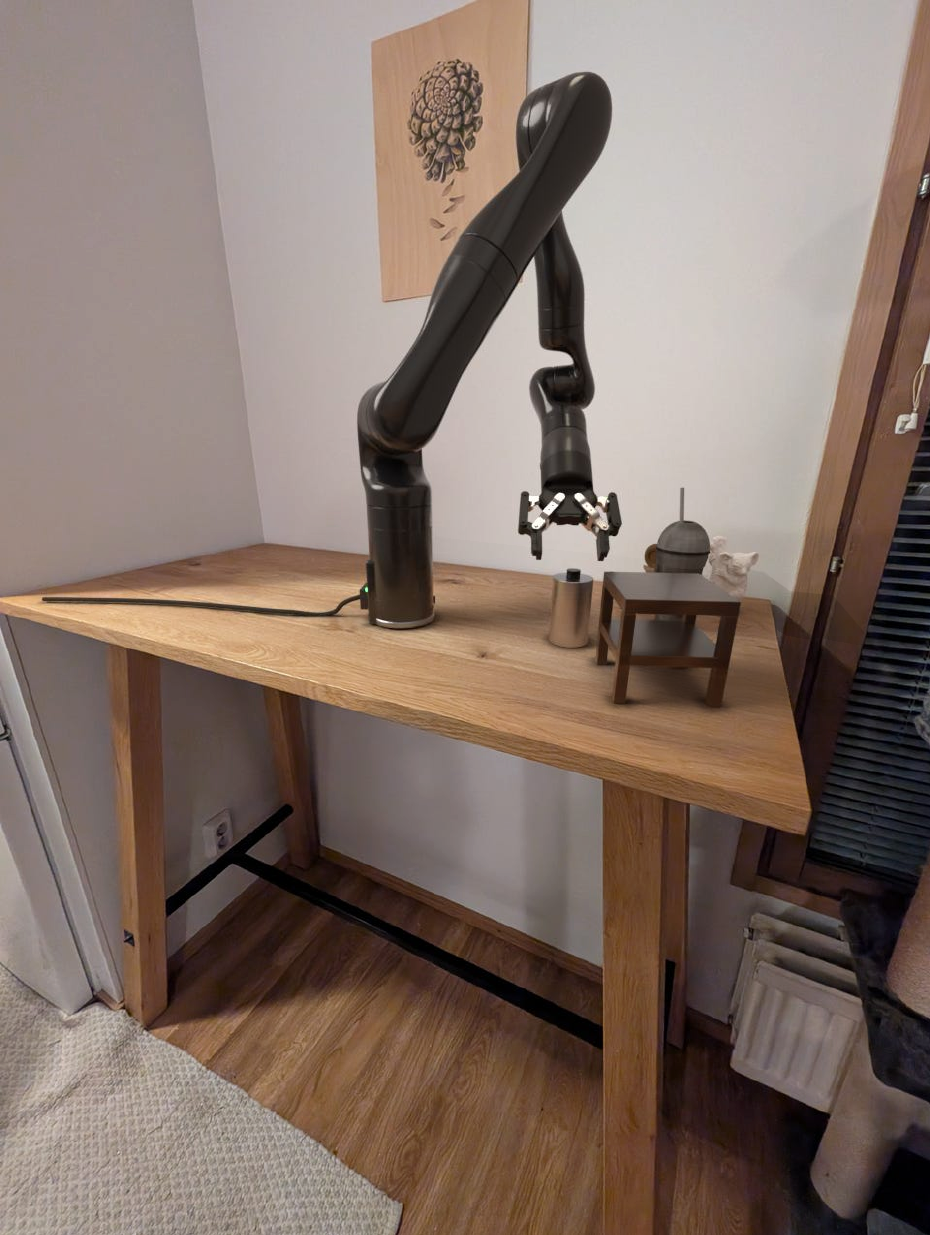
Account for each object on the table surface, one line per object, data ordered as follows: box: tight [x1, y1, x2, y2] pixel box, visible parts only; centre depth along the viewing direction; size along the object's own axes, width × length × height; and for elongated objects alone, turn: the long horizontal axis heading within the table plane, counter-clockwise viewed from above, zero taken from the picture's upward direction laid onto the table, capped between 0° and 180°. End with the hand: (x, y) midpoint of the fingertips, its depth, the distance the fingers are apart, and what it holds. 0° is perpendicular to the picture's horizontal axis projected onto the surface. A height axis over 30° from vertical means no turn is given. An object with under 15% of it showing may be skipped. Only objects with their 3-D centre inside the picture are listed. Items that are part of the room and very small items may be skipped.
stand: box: [594, 571, 742, 708], centre depth 57 cm, size 11×11×12 cm
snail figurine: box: [643, 543, 657, 573], centre depth 83 cm, size 5×6×12 cm
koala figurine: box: [708, 534, 760, 601], centre depth 81 cm, size 8×7×12 cm
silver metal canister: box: [548, 567, 594, 649], centre depth 69 cm, size 5×5×10 cm
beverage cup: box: [654, 487, 711, 621], centre depth 73 cm, size 7×7×20 cm
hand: (570, 557), depth 71 cm, fingers open, 8 cm apart
